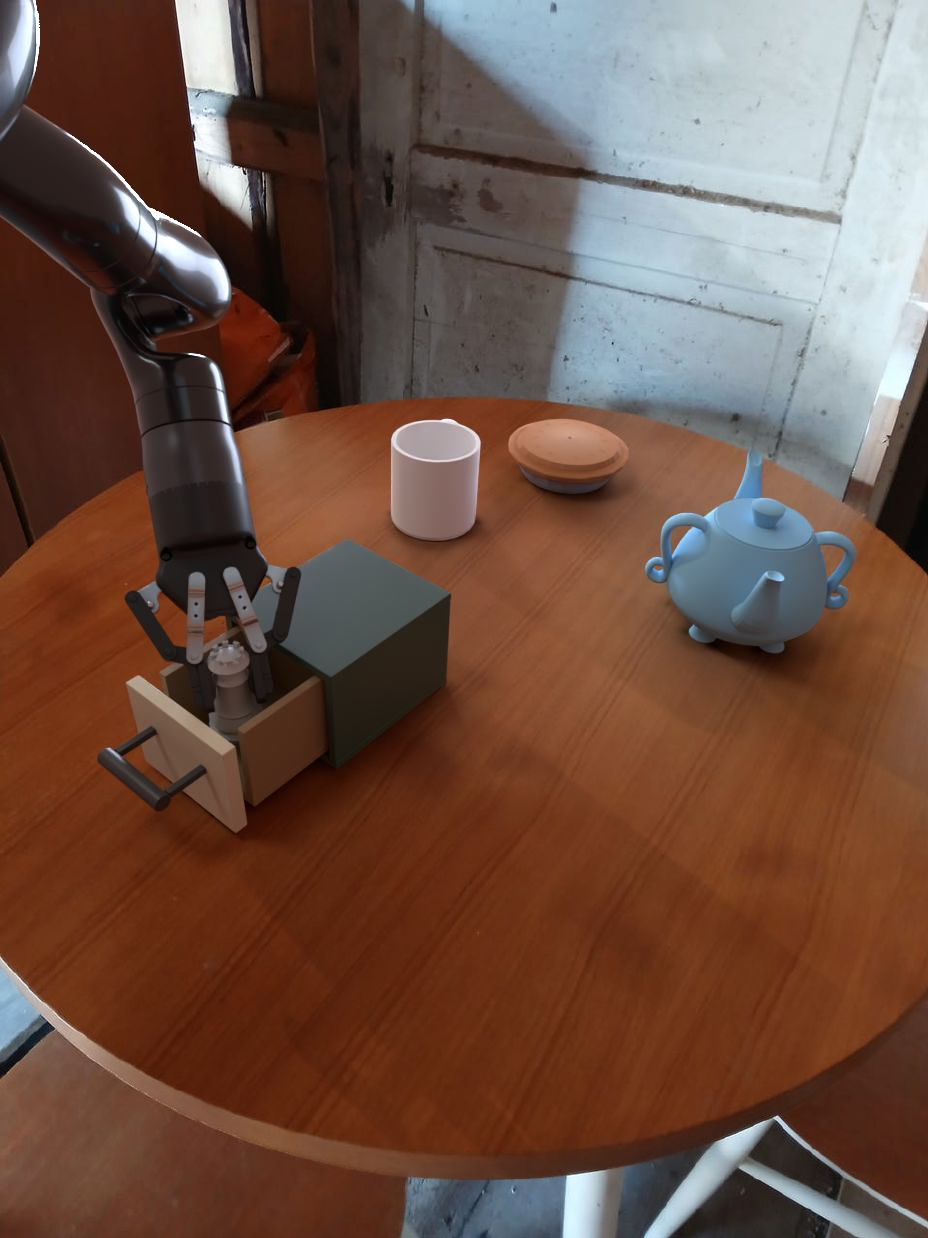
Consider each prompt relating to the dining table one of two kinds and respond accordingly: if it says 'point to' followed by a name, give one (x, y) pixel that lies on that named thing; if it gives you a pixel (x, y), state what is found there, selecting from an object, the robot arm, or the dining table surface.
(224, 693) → the rook chess piece
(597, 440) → the pie
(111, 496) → the dining table surface
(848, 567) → the teapot
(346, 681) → the cabinet
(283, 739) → the drawer
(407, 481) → the mug
